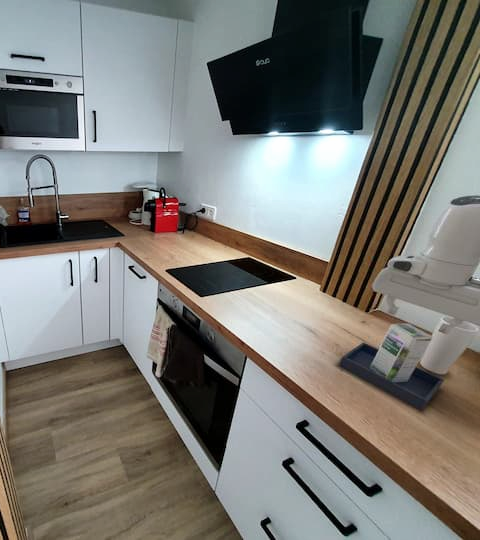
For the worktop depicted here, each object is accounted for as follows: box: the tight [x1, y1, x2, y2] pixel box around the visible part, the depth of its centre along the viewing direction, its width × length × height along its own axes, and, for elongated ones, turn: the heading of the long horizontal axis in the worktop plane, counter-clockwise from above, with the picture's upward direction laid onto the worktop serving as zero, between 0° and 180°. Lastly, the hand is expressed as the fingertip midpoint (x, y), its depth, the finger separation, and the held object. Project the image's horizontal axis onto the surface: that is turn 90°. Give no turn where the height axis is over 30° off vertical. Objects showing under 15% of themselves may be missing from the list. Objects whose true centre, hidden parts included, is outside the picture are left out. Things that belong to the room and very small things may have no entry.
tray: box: [338, 341, 445, 412], centre depth 75 cm, size 17×13×3 cm
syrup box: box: [370, 323, 433, 383], centre depth 73 cm, size 6×6×14 cm
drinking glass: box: [419, 316, 479, 375], centre depth 76 cm, size 7×7×15 cm
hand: (415, 322), depth 69 cm, fingers open, 8 cm apart
